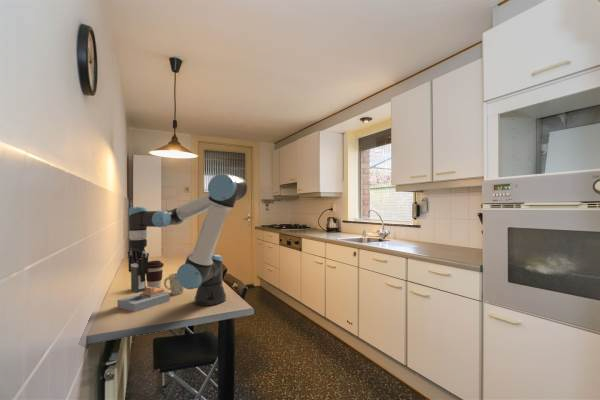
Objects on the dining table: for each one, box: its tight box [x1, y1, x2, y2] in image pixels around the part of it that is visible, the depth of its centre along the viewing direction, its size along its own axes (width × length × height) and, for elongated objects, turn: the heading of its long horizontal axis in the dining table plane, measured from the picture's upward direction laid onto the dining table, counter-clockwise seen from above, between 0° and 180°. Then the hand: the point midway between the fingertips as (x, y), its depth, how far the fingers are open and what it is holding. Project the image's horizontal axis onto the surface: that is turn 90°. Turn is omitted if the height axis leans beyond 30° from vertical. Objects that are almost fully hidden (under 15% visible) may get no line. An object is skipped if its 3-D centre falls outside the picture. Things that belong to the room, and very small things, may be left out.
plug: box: [130, 261, 145, 294], centre depth 148 cm, size 5×5×16 cm
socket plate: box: [116, 291, 171, 313], centre depth 150 cm, size 14×18×4 cm
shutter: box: [142, 285, 165, 296], centre depth 155 cm, size 7×7×4 cm
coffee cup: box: [145, 260, 164, 288], centre depth 180 cm, size 10×10×15 cm
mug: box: [163, 272, 185, 296], centre depth 168 cm, size 8×13×10 cm, turn 78°
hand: (138, 287), depth 148 cm, fingers closed on plug, 4 cm apart
